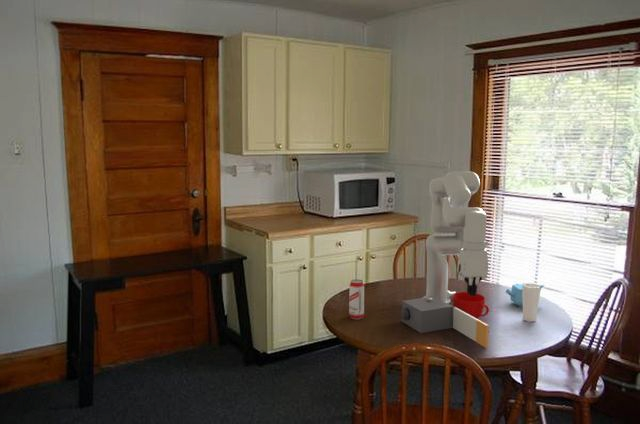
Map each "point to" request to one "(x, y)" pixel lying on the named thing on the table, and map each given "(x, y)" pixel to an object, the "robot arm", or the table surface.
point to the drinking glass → (530, 301)
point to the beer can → (356, 299)
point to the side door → (470, 326)
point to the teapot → (517, 294)
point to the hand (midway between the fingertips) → (471, 294)
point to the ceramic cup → (470, 304)
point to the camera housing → (427, 314)
